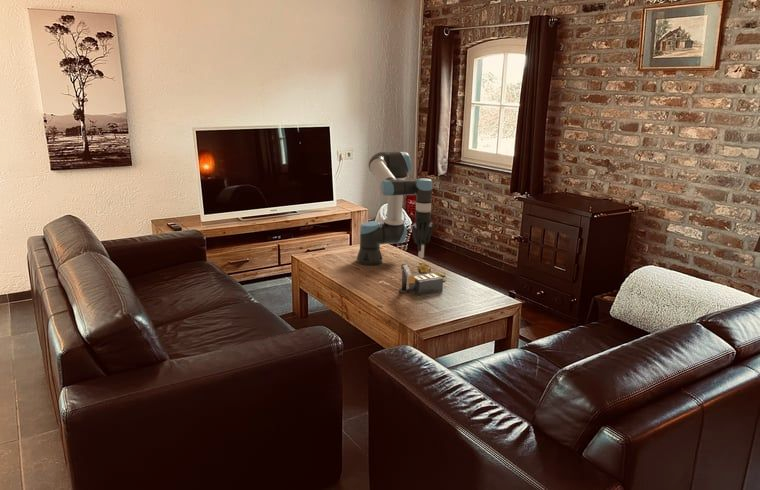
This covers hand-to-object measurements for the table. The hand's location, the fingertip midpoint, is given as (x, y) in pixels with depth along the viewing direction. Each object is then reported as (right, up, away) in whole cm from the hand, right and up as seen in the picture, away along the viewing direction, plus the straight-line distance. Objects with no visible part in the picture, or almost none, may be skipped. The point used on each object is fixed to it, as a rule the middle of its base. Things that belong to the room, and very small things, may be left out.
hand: (421, 256), depth 290 cm
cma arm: (-7, -9, -8) cm, 14 cm away
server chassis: (+3, -17, +7) cm, 19 cm away
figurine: (+7, -12, +26) cm, 30 cm away
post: (-8, -18, +4) cm, 20 cm away
